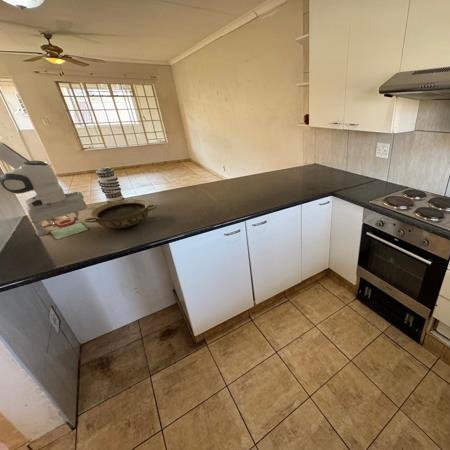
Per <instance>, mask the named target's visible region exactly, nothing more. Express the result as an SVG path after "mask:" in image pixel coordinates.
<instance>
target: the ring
mask: <svg viewBox="0 0 450 450" xmlns="http://www.w3.org/2000/svg"><path fill="white" fill-rule="evenodd" d="M76 222H77V221H75V220H74V219H73V218H67V219H65V220H62V221H59V222H57V223H56V224H57V227H56V228H58V229H61V228H65V227H68V226H72V225H75V224H77V223H76Z"/></svg>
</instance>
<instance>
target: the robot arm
mask: <svg viewBox="0 0 450 450" xmlns="http://www.w3.org/2000/svg"><path fill="white" fill-rule="evenodd" d="M0 160H1V161H2V162H4V163H6V164H7V165H8V166H10V167H12V168H13V169H12V170H8V171H7V172H5V173H2V174H1V175H0V186H2V188H3V189H5V191H8V192H9V193H12V194H16V195H18V194H19V195H20V194H25V193H29V192H32V191H33V192H35V195H34V196H31V197H29V198H27V199H26V200H25V203H26V205H27V208H26V210H27V214H28V216H29V219H30V220H32V221H33V222H35V223H37V222H40V221H44V220H46V221H47V222H48V223H50V224H52V225H51V226H52V227H53V228H58V227H57V224H56V223H55V222H54V223H52V222H51V220H50V219H52V218H55V217H59V216H63V215H64V216H66V215H71V214H74V216H73V217H72V219H74V220H75V221H76V222H77V221H80V220H79V213H80V212H81V211H85V210H87V209H88V205H87V203H86V201H85V200H84V195H83V193H82V192H80V191H73V192H67V193H65V191H64V189H63V187H62V186H61V185H60V183H59V177H58V176H57V174H56V173H55V170H54V169H53V168H52V166H51V165H50V164H49V163H48V162H46V161H43V160H29V159H28V158H26V157H25V156H23V155H22V154H21V153H19V152H17V151H16V150H14V149H13V148H11V147H10V146H9V145H7V144H6V143H4V142H3V141H1V140H0Z"/></svg>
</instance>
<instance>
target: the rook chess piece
mask: <svg viewBox="0 0 450 450" xmlns="http://www.w3.org/2000/svg"><path fill="white" fill-rule="evenodd" d="M30 220H31V219H30ZM30 222H31V224H32V225H33V226H34V228H35V234H36V236H40V237H41V236H45V235H47V234H49V233H50V231H49V229H48V228H47V227H43V226H42V224H41V222H37V223H35V222H33V221H32V220H31V221H30Z"/></svg>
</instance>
